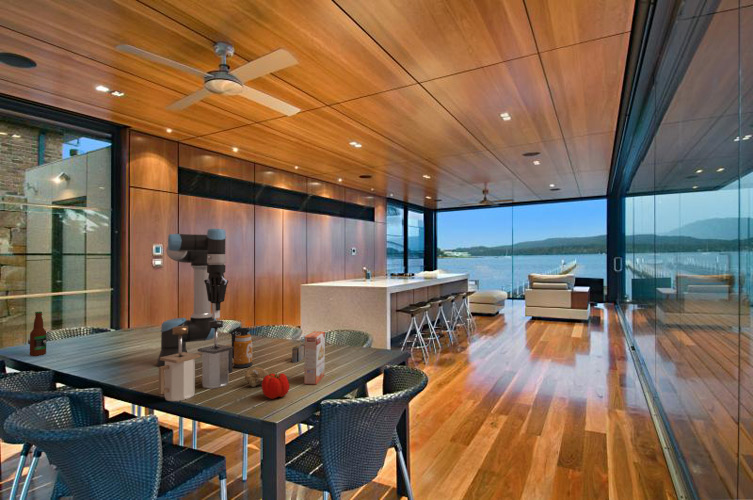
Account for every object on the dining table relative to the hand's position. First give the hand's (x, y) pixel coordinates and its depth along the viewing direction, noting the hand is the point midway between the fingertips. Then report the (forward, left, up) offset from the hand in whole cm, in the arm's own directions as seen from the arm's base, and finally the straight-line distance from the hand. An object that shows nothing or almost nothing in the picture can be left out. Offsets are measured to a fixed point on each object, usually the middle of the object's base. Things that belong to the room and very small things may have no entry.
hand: (216, 318), depth 174 cm
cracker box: (+34, +26, -29) cm, 52 cm away
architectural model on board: (+4, +51, -30) cm, 59 cm away
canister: (-14, +27, -29) cm, 42 cm away
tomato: (+34, +1, -29) cm, 45 cm away
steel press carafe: (0, +2, -29) cm, 29 cm away
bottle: (-138, -11, -29) cm, 142 cm away
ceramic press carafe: (0, -18, -29) cm, 34 cm away
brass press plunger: (0, -17, -17) cm, 24 cm away
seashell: (+16, +10, -29) cm, 35 cm away
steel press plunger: (0, 0, -17) cm, 17 cm away
